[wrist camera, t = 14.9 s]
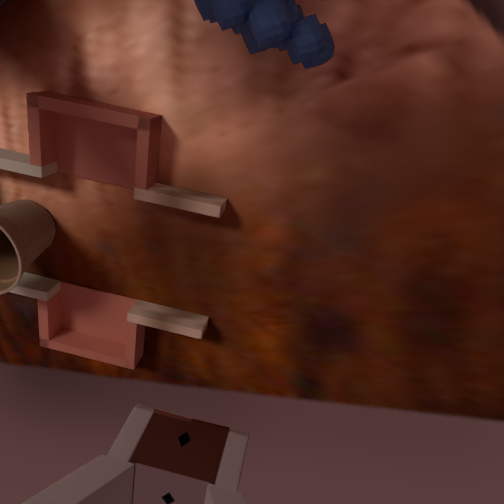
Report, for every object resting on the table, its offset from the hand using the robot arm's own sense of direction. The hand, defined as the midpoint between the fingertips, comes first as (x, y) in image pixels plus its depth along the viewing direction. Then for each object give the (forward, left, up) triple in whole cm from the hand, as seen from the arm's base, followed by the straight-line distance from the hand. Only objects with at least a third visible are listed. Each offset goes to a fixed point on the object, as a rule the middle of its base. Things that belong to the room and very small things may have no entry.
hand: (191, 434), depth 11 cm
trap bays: (-9, -22, -34) cm, 42 cm away
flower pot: (-16, -27, -34) cm, 47 cm away
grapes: (-10, +8, -34) cm, 37 cm away
